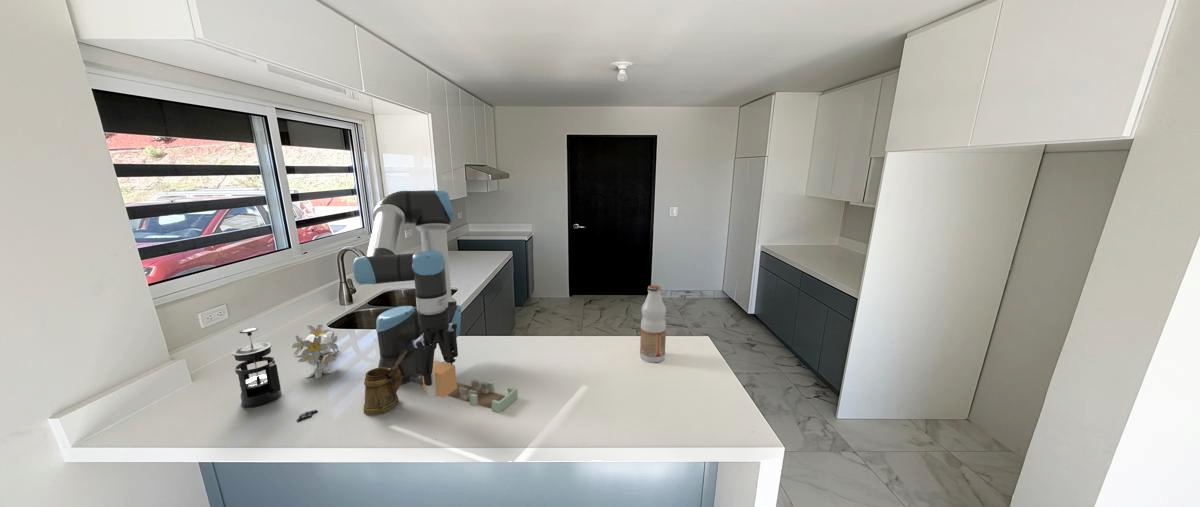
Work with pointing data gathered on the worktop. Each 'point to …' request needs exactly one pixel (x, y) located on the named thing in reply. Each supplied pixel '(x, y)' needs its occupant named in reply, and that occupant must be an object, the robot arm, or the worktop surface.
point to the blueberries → (306, 415)
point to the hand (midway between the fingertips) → (440, 388)
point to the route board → (478, 389)
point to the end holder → (496, 405)
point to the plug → (439, 378)
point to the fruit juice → (653, 326)
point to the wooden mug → (382, 388)
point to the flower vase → (317, 349)
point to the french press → (258, 382)
